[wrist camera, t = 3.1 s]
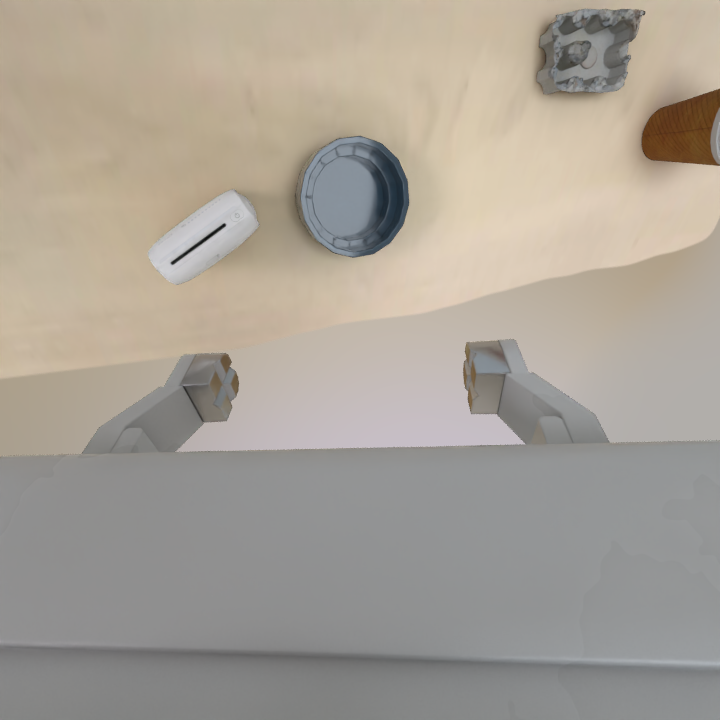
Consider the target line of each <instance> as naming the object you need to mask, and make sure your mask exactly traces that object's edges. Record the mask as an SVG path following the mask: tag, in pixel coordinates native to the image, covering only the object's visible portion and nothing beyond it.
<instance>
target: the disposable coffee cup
mask: <svg viewBox="0 0 720 720" xmlns="http://www.w3.org/2000/svg"><path fill="white" fill-rule="evenodd" d="M642 148H643V151H644V154H645V155H646V156H647V157H648V158H649V159H651V160H658V161H671V162H682V163H694V164H706V165H717V166H720V89H718V90H715V91H713V92H712V91H711V92H709V93H705V94H703V95H699V96H697V97H693V98H691V99H688V100H684V101H682V102H679V103H676V104H673V105H670V106H667V107H663V108H661V109H659V110H658V111H656V112H655V113H654V114H653V115H652V117H651V118H650V119H649V121H648V123H647V124H646V126H645V129H644V132H643V137H642Z"/></svg>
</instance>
